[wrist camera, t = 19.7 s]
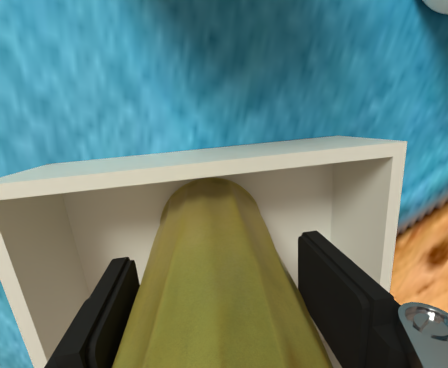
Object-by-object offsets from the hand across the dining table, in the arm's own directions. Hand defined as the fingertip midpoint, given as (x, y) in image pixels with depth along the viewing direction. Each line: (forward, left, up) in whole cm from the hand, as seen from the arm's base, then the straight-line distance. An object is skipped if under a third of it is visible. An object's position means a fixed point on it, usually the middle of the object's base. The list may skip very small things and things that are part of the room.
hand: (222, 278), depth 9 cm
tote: (0, +4, -6) cm, 7 cm away
